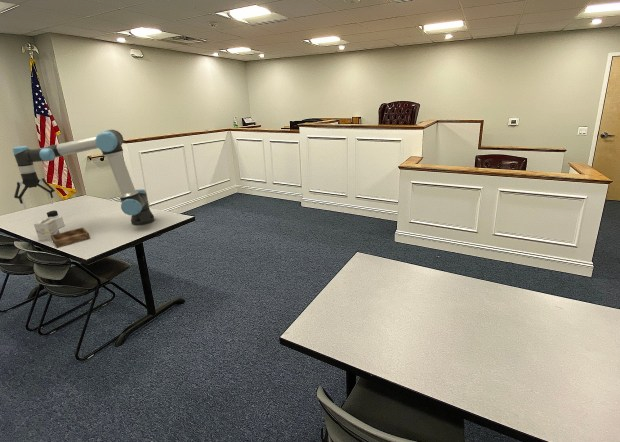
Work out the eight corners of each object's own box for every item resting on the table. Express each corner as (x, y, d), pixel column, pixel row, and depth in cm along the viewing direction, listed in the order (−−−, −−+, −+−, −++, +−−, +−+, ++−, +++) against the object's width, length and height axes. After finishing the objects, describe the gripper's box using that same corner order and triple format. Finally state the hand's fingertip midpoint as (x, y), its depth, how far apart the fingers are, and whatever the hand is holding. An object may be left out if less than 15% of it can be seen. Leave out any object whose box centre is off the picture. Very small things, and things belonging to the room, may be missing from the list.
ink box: (47, 235, 230) (41, 216, 225) (60, 234, 230) (54, 215, 225) (39, 241, 221) (32, 221, 217) (52, 240, 222) (46, 220, 217)
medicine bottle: (65, 225, 247) (60, 209, 243) (55, 229, 240) (50, 213, 236) (58, 225, 249) (52, 209, 245) (48, 228, 243) (42, 212, 239)
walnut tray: (84, 232, 231) (83, 227, 230) (90, 238, 221) (88, 232, 220) (52, 241, 220) (50, 235, 219) (56, 247, 210) (54, 241, 208)
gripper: (51, 168, 221) (61, 200, 229) (1, 175, 205) (13, 209, 213) (53, 169, 216) (63, 202, 223) (2, 176, 200) (14, 211, 208)
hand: (38, 205), depth 218 cm, fingers open, 13 cm apart
